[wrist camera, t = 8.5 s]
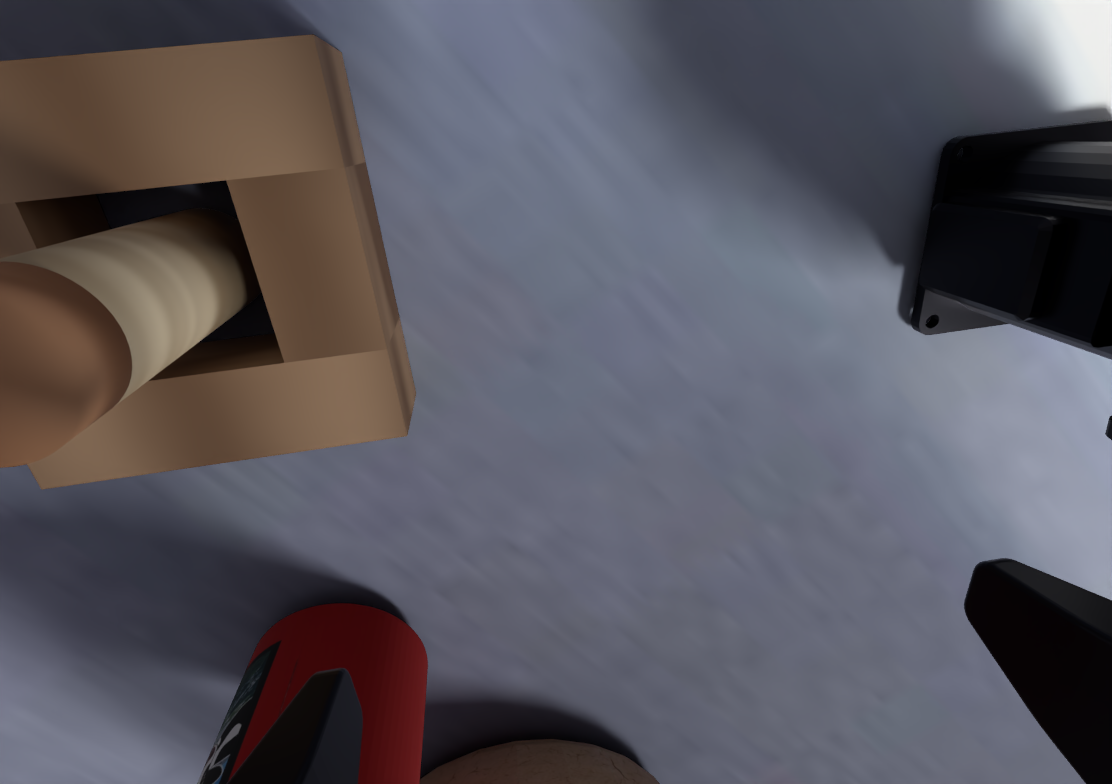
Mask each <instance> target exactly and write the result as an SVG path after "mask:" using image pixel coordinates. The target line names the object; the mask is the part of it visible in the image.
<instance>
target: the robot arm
mask: <svg viewBox="0 0 1112 784" xmlns="http://www.w3.org/2000/svg"><path fill="white" fill-rule="evenodd" d="M961 148H963V154H962V156H961V158H960V159H959V160H958V153H959V150H960V149H961ZM930 316H931V318H930V321H929V322H928V323H927V324H926V320H927V319H928V318H929V317H930ZM1003 324H1012V325H1014V326H1017V327H1020V328H1023V329H1026V330H1029V331H1031V332H1034V333H1037V334H1040V335H1043V336H1046V337H1049V338H1051V339H1054V340H1057V341H1060V342H1063V343H1066V344H1069V345H1071V346H1074V347H1077V348H1080V349H1083V350H1086V351H1089V352H1091V353H1094V354H1097V355H1100V356H1103V357H1106V358H1109V359H1111V360H1112V120H1103V121H1094V122H1085V123H1076V124H1067V125H1058V126H1049V127H1040V128H1031V129H1022V130H1013V131H1004V132H995V133H986V134H977V135H968V136H959V137H956V138H953V139H951V140H950V141H949V142H948V143H947V144H946V145H945V147H944V148H943V151H942V154H941V158H940V163H939V169H938V174H937V180H936V185H935V191H934V197H933V202H932V208H931V213H930V219H929V224H928V230H927V235H926V241H925V247H924V252H923V258H922V263H921V269H920V274H919V280H918V286H917V291H916V297H915V302H914V308H913V313H912V319H911V325H912V327H913V329H914V330H916V331H918V332H920V333H923V334H925V335H933V334H940V333H947V332H954V331H961V330H968V329H975V328H982V327H989V326H996V325H1003ZM1105 434H1106V436H1107V437H1109V438H1110V439H1111V440H1112V416H1110V418H1109V421H1108V425H1107V429H1106V433H1105ZM964 609H965V613H966V616H967V618H968V620H969V622H970V623H971V625H972V626H973V628H974V629H975V631H976V632H977V634H978V635H979V637H980V638H981V640H982V641H983V643H984V644H985V646H986V647H987V648H988V650H989V651H990V653H991V654H992V656H993V657H994V659H995V660H996V662H997V663H998V665H999V666H1000V668H1001V669H1002V671H1003V672H1004V674H1005V675H1006V677H1007V678H1008V680H1009V681H1010V683H1011V684H1012V686H1013V687H1014V688H1015V690H1016V691H1017V693H1018V694H1019V696H1020V697H1021V699H1022V700H1023V702H1024V703H1025V705H1026V706H1027V708H1028V709H1029V711H1030V712H1031V713H1032V715H1033V716H1034V718H1035V719H1036V720H1037V722H1038V723H1039V725H1040V726H1041V727H1042V729H1043V730H1044V731H1045V732H1046V734H1047V735H1048V736H1049V738H1050V739H1051V740H1052V742H1053V743H1054V744H1055V745H1056V747H1057V748H1058V749H1059V750H1060V752H1061V753H1062V754H1063V755H1064V757H1065V758H1066V759H1067V760H1068V762H1069V763H1070V764H1071V765H1072V767H1073V768H1074V769H1075V770H1076V772H1077V773H1078V774H1079V775H1080V777H1081V778H1082V779H1083V780H1084V782H1085V783H1086V784H1112V600H1109V599H1107V598H1104V597H1102V596H1099V595H1097V594H1095V593H1092V592H1090V591H1087V590H1085V589H1083V588H1080V587H1078V586H1075V585H1073V584H1071V583H1068V582H1066V581H1063V580H1061V579H1059V578H1056V577H1054V576H1051V575H1049V574H1046V573H1044V572H1042V571H1039V570H1037V569H1034V568H1032V567H1030V566H1027V565H1025V564H1022V563H1020V562H1018V561H1015V560H1012V559H1008V558H1001V559H995V560H989V561H983V562H980V563H978V564H977V565H976V566H975V568H974V571H973V574H972V577H971V581H970V584H969V588H968V591H967V594H966V598H965V602H964ZM362 728H363V716H362V709H361V705H360V702H359V699H358V697H357V694H356V691H355V688H354V685H353V682H352V679H351V676H350V674H349V672H348V671H347V670H346V669H345V668H337V669H331V670H325V671H319V672H316V673H315V674H313V675H312V676H311V677H310V678H309V679H308V680H307V682H306V683H305V684H304V686H303V687H302V688H301V689H300V691H299V692H298V693H297V694H296V696H295V697H294V698H293V700H292V701H291V702H290V703H289V705H288V706H287V707H286V708H285V710H284V711H283V712H282V714H281V715H280V716H279V717H278V719H277V720H276V721H275V722H274V724H273V725H272V726H271V728H270V729H269V730H268V731H267V733H266V734H265V735H264V737H263V738H262V739H261V740H260V742H259V743H258V744H257V745H256V747H255V748H254V749H253V751H252V752H251V753H250V754H249V756H248V757H247V758H246V759H245V761H244V762H243V763H242V765H241V766H240V767H239V768H238V770H237V771H236V772H235V773H234V775H233V776H232V777H231V779H230V780H229V781H228V782H227V784H358V776H359V764H360V752H361V740H362Z"/></svg>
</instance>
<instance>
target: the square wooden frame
mask: <svg viewBox="0 0 1112 784" xmlns="http://www.w3.org/2000/svg"><path fill="white" fill-rule="evenodd" d="M224 180H226V181H227V184H228V187H229V191H230V194H231V197H232V200H233V203H234V206H235V209H236V213H237V216H238V219H239V222H240V225H241V228H242V231H243V234H244V238H245V241H246V244H247V247H248V250H249V253H250V256H251V260H252V263H253V266H254V269H255V272H256V275H257V278H258V281H259V285H260V288H261V291H262V294H263V297H264V300H265V303H266V307H267V310H268V313H269V316H270V319H271V322H272V325H273V328H274V332H275V333H273V334H265V335H257V336H249V337H241V338H234V339H226V340H218V341H210V342H203V343H197V344H196V345H194V346H193V347H192V348H191V349H189V350H188V351H187V352H185V353H184V354H183V355H181V356H180V357H179V358H177V359H176V360H175V361H174V362H172V363H171V364H170V365H168V366H167V367H166V368H164V369H163V370H162V371H160V372H159V373H158V374H156V375H155V376H154V377H153V378H151V379H150V380H149V381H147V382H146V383H145V384H143V385H142V386H141V387H139V388H138V389H137V390H136V391H134V392H133V393H132V394H130V395H129V396H128V397H126V398H125V399H124V400H122V401H121V402H120V403H118V404H117V405H116V406H115V407H113V408H112V409H111V410H109V411H108V412H107V413H105V414H104V415H103V416H101V417H100V418H99V419H97V420H96V421H95V422H94V423H92V424H91V425H90V426H88V427H87V428H86V429H84V430H83V431H82V432H80V433H79V434H78V435H77V436H75V437H74V438H73V439H71V440H70V441H69V442H67V443H66V444H65V445H63V446H62V447H61V448H59V449H58V450H57V451H55V452H54V453H52V454H51V455H49V456H47V457H45V458H43V459H41V460H38V461H35V462H32V463H29V464H27V465H28V467H29V469H30V470H31V472H32V474H33V476H34V477H35V479H36V481H37V483H38V484H39V486H40V488H41V490H42V489H49V488H56V487H62V486H69V485H76V484H83V483H90V482H97V481H103V480H110V479H117V478H124V477H131V476H138V475H144V474H151V473H158V472H165V471H172V470H178V469H185V468H192V467H199V466H206V465H213V464H219V463H226V462H233V461H240V460H247V459H254V458H260V457H267V456H274V455H281V454H288V453H295V452H301V451H308V450H315V449H322V448H329V447H336V446H342V445H349V444H356V443H363V442H370V441H376V440H383V439H390V438H397V437H404V436H407V435H408V430H409V425H410V420H411V416H412V411H413V406H414V401H415V396H416V391H415V386H414V382H413V377H412V373H411V368H410V363H409V359H408V354H407V350H406V345H405V340H404V336H403V331H402V327H401V322H400V318H399V313H398V308H397V304H396V299H395V295H394V290H393V286H392V281H391V276H390V272H389V267H388V263H387V258H386V253H385V249H384V244H383V240H382V235H381V231H380V226H379V221H378V217H377V212H376V208H375V203H374V198H373V194H372V189H371V185H370V180H369V176H368V171H367V166H366V162H365V157H364V153H363V148H362V144H361V139H360V134H359V130H358V125H357V121H356V116H355V111H354V107H353V102H352V98H351V93H350V89H349V84H348V79H347V75H346V70H345V66H344V61H343V57H342V52H340V51H339V50H337V49H335V48H334V47H332V46H331V45H329V44H328V43H326V42H324V41H323V40H321V39H320V38H318V37H317V36H315V35H313V34H312V35H300V36H289V37H277V38H265V39H254V40H242V41H230V42H219V43H207V44H195V45H183V46H172V47H160V48H148V49H137V50H125V51H113V52H102V53H90V54H78V55H67V56H55V57H43V58H31V59H20V60H8V61H0V259H1V258H5V257H8V256H12V255H16V254H20V253H24V252H27V251H31V250H35V249H39V248H43V247H46V246H50V245H54V244H58V243H62V242H65V241H69V240H73V239H77V238H80V237H84V236H88V235H92V234H96V233H99V232H103V231H107V230H110V227H109V225H108V222H107V220H106V218H105V215H104V213H103V210H102V208H101V206H100V203H99V201H98V198H97V196H96V194H101V193H110V192H119V191H129V190H138V189H148V188H157V187H167V186H176V185H186V184H195V183H205V182H214V181H224Z"/></svg>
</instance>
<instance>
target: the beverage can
mask: <svg viewBox="0 0 1112 784" xmlns="http://www.w3.org/2000/svg"><path fill="white" fill-rule="evenodd" d="M337 668H345V669H346V670H347V671H348V672H349V674H350V676H351V679H352V682H353V685H354V688H355V691H356V694H357V697H358V699H359V702H360V705H361V709H362V716H363V728H362V740H361V752H360V764H359V776H358V784H419V783H420V769H421V756H422V743H423V729H424V715H425V700H426V684H427V669H428V660H427V654H426V651H425V648H424V645H423V643H422V641H421V639H420V638H419V637H418V635H417V634H416V633H415V632H414V630H413V629H412V628H411V627H410V626H408V625H407V624H406V623H405V622H403V621H402V620H400V619H399V618H397V617H395V616H394V615H392V614H390V613H388V612H385V611H383V610H380V609H377V608H374V607H370V606H365V605H359V604H350V603H332V604H324V605H318V606H313V607H309V608H306V609H303V610H300V611H298V612H295V613H293V614H291V615H289V616H287V617H285V618H283V619H282V620H280V621H279V622H277V623H276V624H275V625H273V626H272V627H271V628H270V629H269V630H268V631H267V632H266V633H265V634H264V636H263V637H262V638H261V640H260V641H259V643H258V644H257V647H256V649H255V651H254V653H253V655H252V658H251V660H250V662H249V665H248V667H247V669H246V671H245V674H244V676H243V678H242V681H241V683H240V685H239V687H238V690H237V692H236V694H235V697H234V699H233V701H232V703H231V706H230V708H229V710H228V713H227V715H226V717H225V720H224V722H223V724H222V727H221V729H220V731H219V734H218V736H217V738H216V741H215V743H214V746H213V748H212V750H211V753H210V755H209V757H208V760H207V762H206V764H205V767H204V769H203V771H202V774H201V776H200V778H199V781H198V783H197V784H227V782H228V781H229V780H230V779H231V777H232V776H233V775H234V773H235V772H236V771H237V770H238V768H239V767H240V766H241V765H242V763H243V762H244V761H245V759H246V758H247V757H248V756H249V754H250V753H251V752H252V751H253V749H254V748H255V747H256V745H257V744H258V743H259V742H260V740H261V739H262V738H263V737H264V735H265V734H266V733H267V731H268V730H269V729H270V728H271V726H272V725H273V724H274V722H275V721H276V720H277V719H278V717H279V716H280V715H281V714H282V712H283V711H284V710H285V708H286V707H287V706H288V705H289V703H290V702H291V701H292V700H293V698H294V697H295V696H296V694H297V693H298V692H299V691H300V689H301V688H302V687H303V686H304V684H305V683H306V682H307V680H308V679H309V678H310V677H311V676H312V675H313V674H315V673H316V672H319V671H325V670H331V669H337Z"/></svg>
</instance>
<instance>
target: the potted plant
mask: <svg viewBox="0 0 1112 784" xmlns="http://www.w3.org/2000/svg"><path fill="white" fill-rule="evenodd" d="M419 784H660V783H659V782H658V781H657V780H656V779H655V778H654V776H652V775H651V774H649V773H648V772H647V771H645V770H644V769H643V768H641V767H640V766H639V765H637V764H636V763H635V762H633V761H632V760H630V759H629V758H627V757H625V756H624V755H621V754H618V753H615V752H613V751H610V750H607V749H604V748H602V747H599V746H596V745H593V744H586V743H580V742H573V741H565V740H557V739H541V740H524V741H513V742H509V743H505V744H501V745H496V746H492V747H488V748H483V749H479V750H477V751H474V752H472V753H470V754H467V755H465V756H462V757H460V758H458V759H455V760H453V761H451V762H448V763H446V764H444V765H442V766H439V767H437V768H436V769H434V770H433V771H431V772H430V773H428V774H427V775H425V776H424V777H423V778H421V779H420V783H419Z"/></svg>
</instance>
